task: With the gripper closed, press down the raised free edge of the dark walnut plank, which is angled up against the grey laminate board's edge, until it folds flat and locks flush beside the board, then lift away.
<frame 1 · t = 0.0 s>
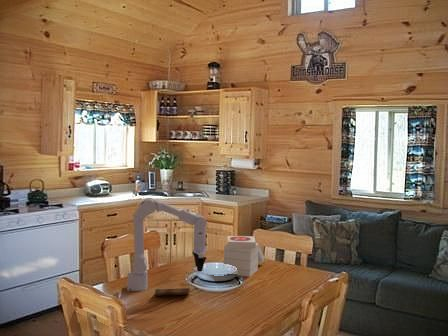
hand: (198, 268, 228), 10 cm above the table, fingers open, 7 cm apart
grey board: (170, 293, 222), on the table
walnut plank: (171, 292, 215), point 3 cm above the table, hinge at 30.0°
pizza boxes: (243, 269, 266), on the table
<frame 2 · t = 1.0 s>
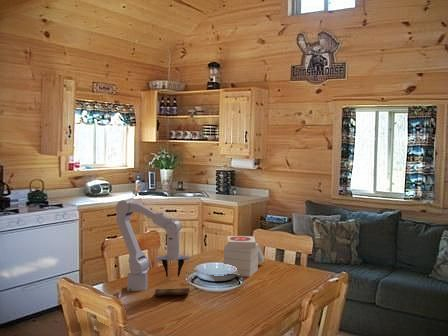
hand: (172, 276, 219), 9 cm above the table, fingers open, 5 cm apart
nothing on the table moved.
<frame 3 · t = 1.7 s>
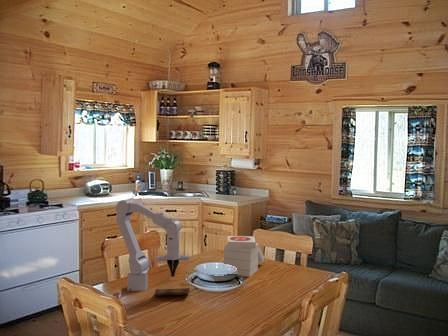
hand: (172, 276, 219), 9 cm above the table, fingers closed
nothing on the table moved.
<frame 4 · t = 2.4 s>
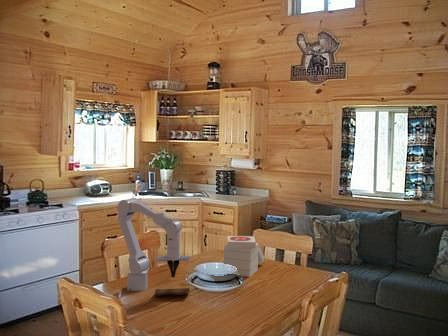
hand: (173, 276, 217), 9 cm above the table, fingers closed
nothing on the table moved.
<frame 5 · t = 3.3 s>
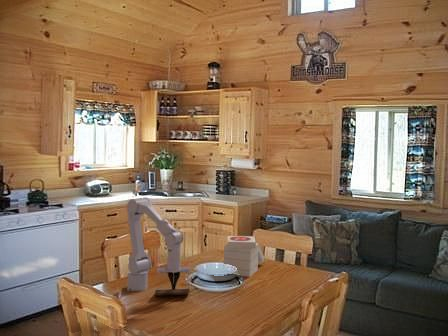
hand: (173, 288, 212), 6 cm above the table, fingers closed, pressing on walnut plank
walnut plank: (171, 292, 215), point 3 cm above the table, hinge at 28.9°, touching gripper
everything else where it was.
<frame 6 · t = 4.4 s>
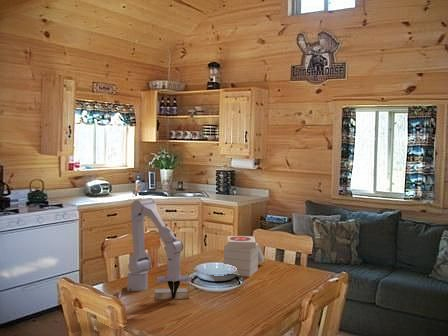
hand: (173, 297, 212), 2 cm above the table, fingers closed, pressing on walnut plank
walnut plank: (171, 297, 214), point 1 cm above the table, hinge at 2.5°, touching gripper
everything else where it was.
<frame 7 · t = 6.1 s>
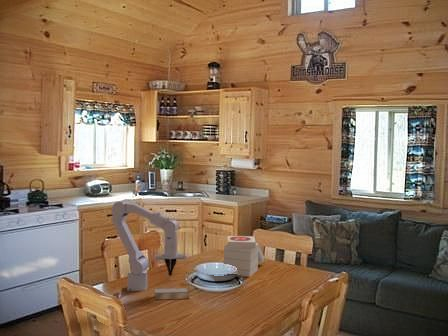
hand: (170, 274, 221), 9 cm above the table, fingers closed
walnut plank: (171, 297, 214), point 1 cm above the table, hinge at 2.4°
everything else where it was.
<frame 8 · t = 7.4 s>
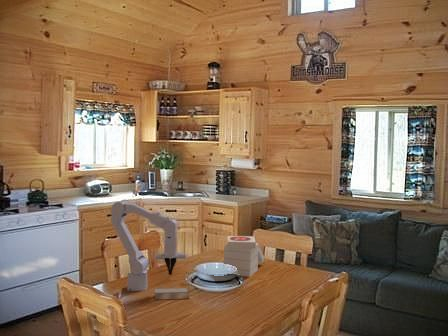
hand: (170, 274, 221), 9 cm above the table, fingers closed
nothing on the table moved.
at the end: walnut plank at +2° (first picture: +30°); the gripper is holding nothing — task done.
